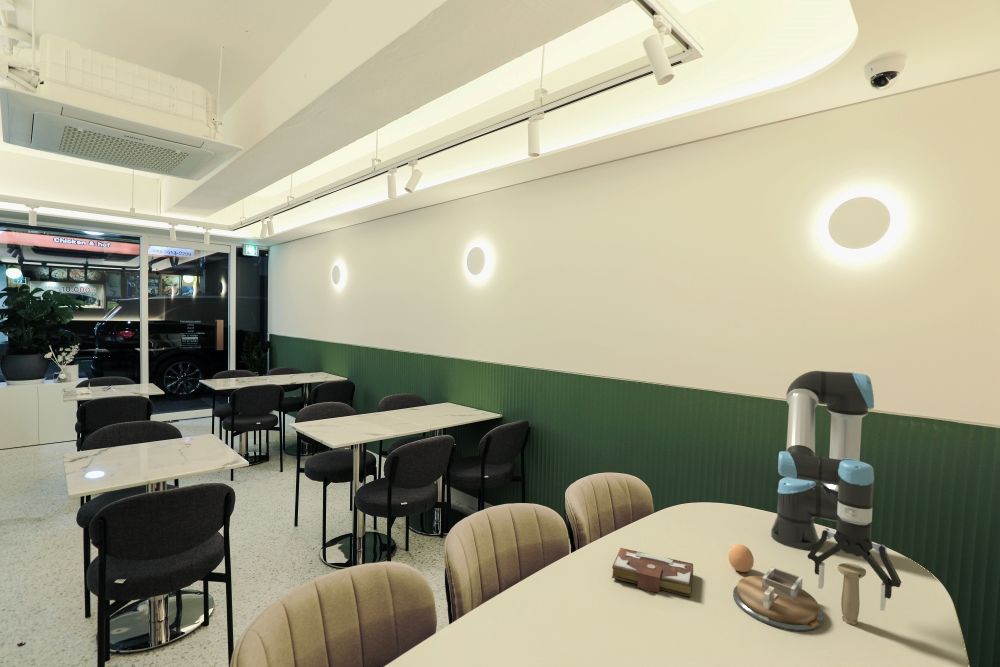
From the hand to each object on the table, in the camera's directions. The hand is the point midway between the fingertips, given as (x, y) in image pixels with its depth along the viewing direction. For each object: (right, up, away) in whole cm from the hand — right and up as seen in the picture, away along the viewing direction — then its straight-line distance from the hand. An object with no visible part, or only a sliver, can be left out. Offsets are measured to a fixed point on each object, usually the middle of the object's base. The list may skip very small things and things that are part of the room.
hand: (850, 597), depth 128 cm
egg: (-17, -6, +26) cm, 32 cm away
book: (-47, -6, +21) cm, 52 cm away
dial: (-16, -5, +7) cm, 18 cm away
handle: (0, -7, 0) cm, 7 cm away
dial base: (-16, -7, +7) cm, 19 cm away
